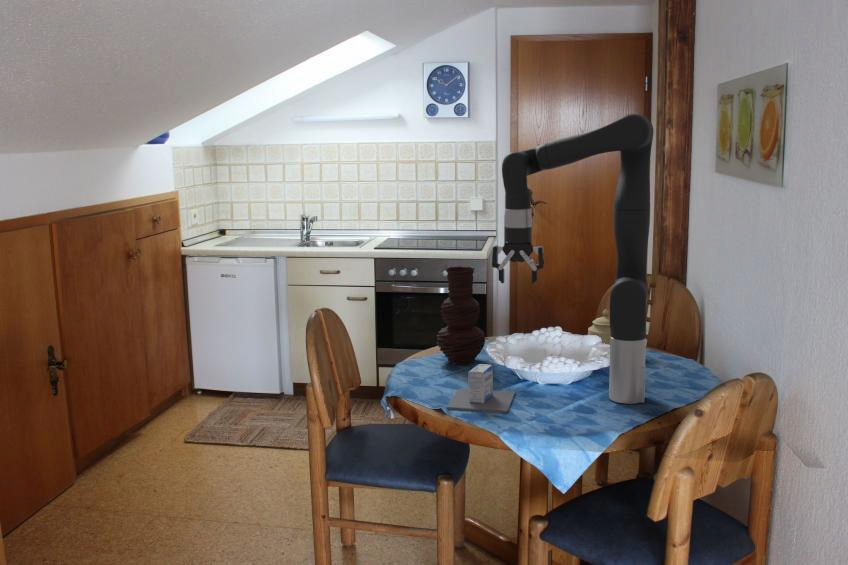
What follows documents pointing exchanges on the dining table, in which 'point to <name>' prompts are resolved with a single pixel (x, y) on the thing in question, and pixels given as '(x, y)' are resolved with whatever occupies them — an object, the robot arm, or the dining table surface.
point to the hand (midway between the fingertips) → (518, 283)
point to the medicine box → (480, 383)
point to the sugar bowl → (601, 327)
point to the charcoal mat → (494, 404)
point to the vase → (460, 319)
